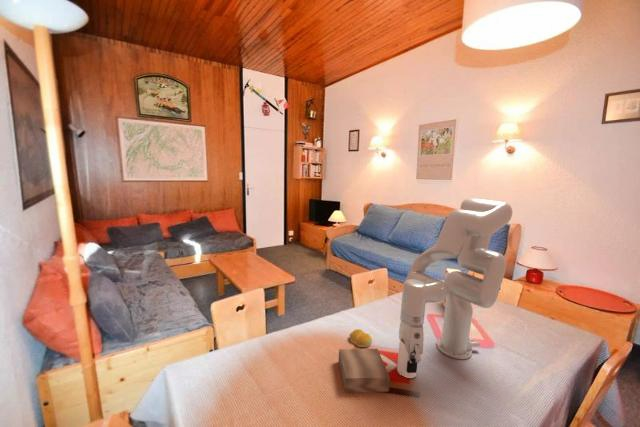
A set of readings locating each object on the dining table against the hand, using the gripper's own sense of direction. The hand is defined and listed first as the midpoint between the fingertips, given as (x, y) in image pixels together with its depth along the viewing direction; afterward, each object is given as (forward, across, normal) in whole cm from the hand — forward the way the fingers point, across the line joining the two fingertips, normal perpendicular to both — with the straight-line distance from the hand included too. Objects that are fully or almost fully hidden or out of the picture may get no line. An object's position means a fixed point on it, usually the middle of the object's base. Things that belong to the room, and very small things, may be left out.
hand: (407, 364), depth 97 cm
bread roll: (+4, +18, +12) cm, 22 cm away
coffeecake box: (+3, +42, -41) cm, 59 cm away
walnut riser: (+3, -1, +16) cm, 16 cm away
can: (+3, 0, 0) cm, 3 cm away
